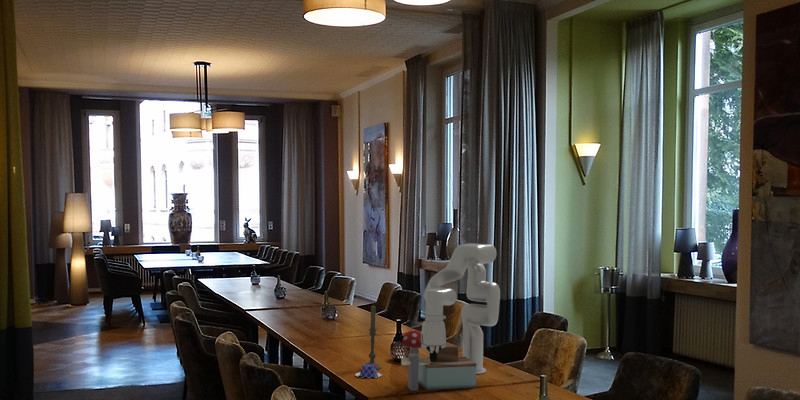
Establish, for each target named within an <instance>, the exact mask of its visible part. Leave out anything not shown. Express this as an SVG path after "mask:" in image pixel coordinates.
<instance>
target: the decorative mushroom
mask: <svg viewBox="0 0 800 400" xmlns="http://www.w3.org/2000/svg"><path fill="white" fill-rule="evenodd" d="M421 332H422V330H421V331H420V330H417V329H411V330H408V331H407V332H406V331H405V333H403V334H402V335H401V336H403V339H402V344H401V345H402V346H404V347H406V348H409V354H414V353H415V354H417V355H418V356H419V357H420V349H422V347H421V345H422V343H421Z"/></svg>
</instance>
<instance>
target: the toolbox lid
mask: <svg viewBox="0 0 800 400" xmlns="http://www.w3.org/2000/svg"><path fill="white" fill-rule="evenodd" d="M424 366H425V367H426V368H446V367H472V366H476V363H475V362H473V361H471V360H470V359H468V358H467V357H463V356H459V346H457V345H446V347H445V348H441V349H440V350H439V351H438V353H437V360H436V362H431V361H430V365H424Z"/></svg>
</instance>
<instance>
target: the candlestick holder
mask: <svg viewBox="0 0 800 400" xmlns="http://www.w3.org/2000/svg"><path fill="white" fill-rule="evenodd" d="M368 331H369V333H368V334H369V336H371V337H370V353H369V354H368V358H369V362H367V363H366V364H374V365H375V367H376V371H378V370H381V369H383V367H382V365H380V364H379V363H377V362H376V361H375V359H376V357H377V353H375V351H374V350H375V341H376V340H375V336H376V335H377V331H378V329H377V328H376V306H375V305H374V304H372V306H370V328H369V329H368Z"/></svg>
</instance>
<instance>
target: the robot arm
mask: <svg viewBox="0 0 800 400" xmlns="http://www.w3.org/2000/svg"><path fill="white" fill-rule="evenodd" d="M497 254H498V253H497V249H496V247H495V246H494V245H493V244H487V243H486V244H485V243H465V244H459V245H458V246H456V247H455V248H454V251H453V252H452V255H451V257H450V259H449V260H448V263H447V265H446V267H445V268H442V269H441V270H440V271H438V272H437V273H435V274H434V275H433V276H432V277H431V278H430V279H429V281H428V283H427V285H426V287H425V290H424V292H423V299H424V301H425V311H424V312H425V313H424V315H425V317H424V321H423V322H422V324H421V325H422V326H421V343H422V345H421V349H425V350H427V351H428V352H429V358H430V361H431V362H436V360H437V353H438V351H439V350H440V349H441V348H445V347H446V346H447V345H446V343H447V332H446V331H447V330H446V324H445V321H444V320H446V319H447V316H446V315H444V306H453V304H455V302H456V301H457V297H458V296H457V292H456V291H455V290H454V289H453V288H450V287H443V286H444V285H446V284H448V283H452V282H455V281H458V280H460V279H462V278H463V277H464V276H465V273H466V270H467V283H466V298H467V299H468V300H470V301H473V302H479V303H481V302H482V303H486V304H478V303H468V304H465V305H464V306H463V307H462V308H461V312H460V314H461V315H460V316H461V323H462V357H467V358H468V359H470V360H471V361H473V362H475V363H476V375H482V374H485V373H487V369H486V368H485V367H484V364H483V363H484V362H483V361H484V331H483V330H482V328H481V326H485V327H494V326H496V325H497V323H498V321H499V314H500V301H501V290H500V286H499V285H498V283H496V282H493V281H486V280H487V279H486V278H487V277H486V276H487V270H486V268H485V265H486V264H490V263H491V264H492V263H494V261H495V260H496V258H497Z"/></svg>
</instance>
